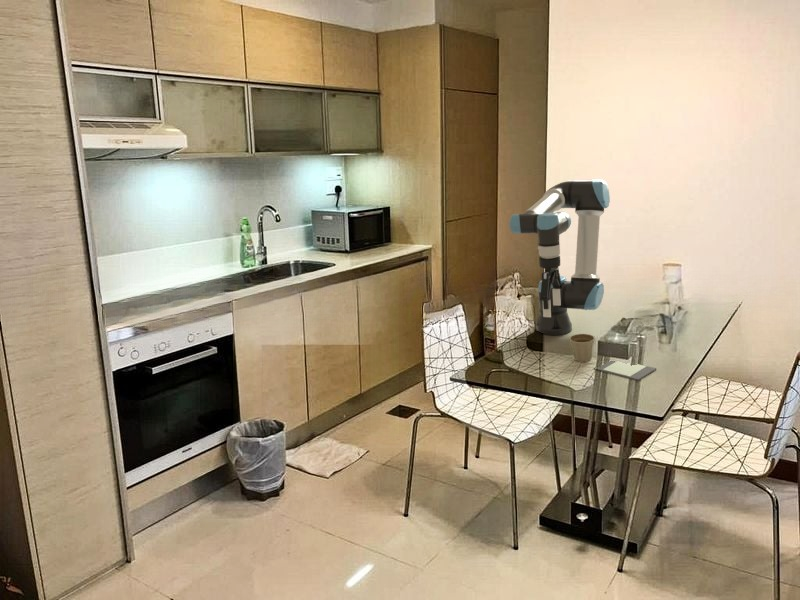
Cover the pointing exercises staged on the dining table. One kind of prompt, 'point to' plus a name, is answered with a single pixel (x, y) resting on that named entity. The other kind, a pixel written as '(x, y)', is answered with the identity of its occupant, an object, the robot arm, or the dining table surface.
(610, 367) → the flat plate
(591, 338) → the flower pot
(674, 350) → the dining table surface
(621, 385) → the dining table surface
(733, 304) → the dining table surface
